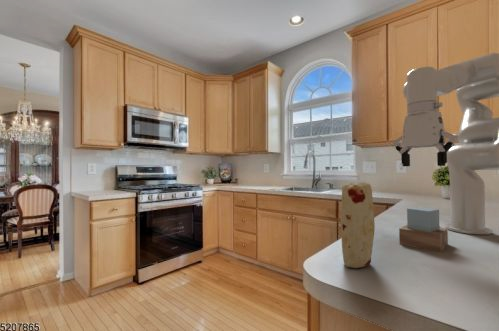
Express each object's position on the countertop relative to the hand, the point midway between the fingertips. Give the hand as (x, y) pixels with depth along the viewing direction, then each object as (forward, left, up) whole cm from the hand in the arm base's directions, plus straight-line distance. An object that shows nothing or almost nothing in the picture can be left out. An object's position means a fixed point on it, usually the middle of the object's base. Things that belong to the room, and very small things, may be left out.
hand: (422, 166), depth 75 cm
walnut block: (0, 0, -24) cm, 24 cm away
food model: (+31, 0, -24) cm, 39 cm away
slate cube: (0, 0, -19) cm, 19 cm away
